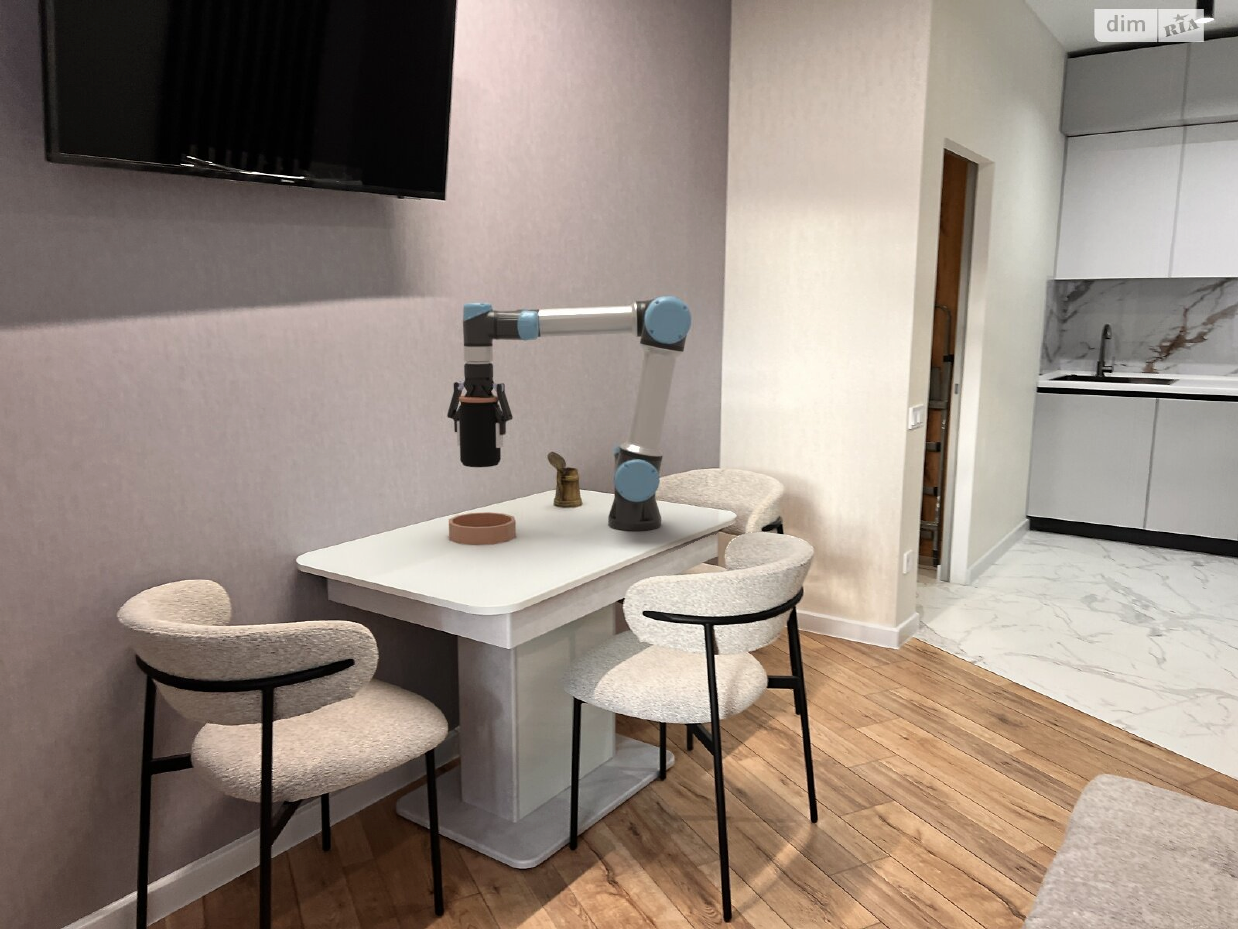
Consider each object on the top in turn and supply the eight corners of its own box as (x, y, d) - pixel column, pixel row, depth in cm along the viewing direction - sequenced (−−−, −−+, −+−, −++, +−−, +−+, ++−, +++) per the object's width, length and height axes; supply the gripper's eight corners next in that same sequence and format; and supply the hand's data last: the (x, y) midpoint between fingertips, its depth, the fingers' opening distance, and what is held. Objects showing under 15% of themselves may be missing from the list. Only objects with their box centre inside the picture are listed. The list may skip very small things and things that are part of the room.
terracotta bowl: (525, 531, 258) (525, 515, 257) (497, 547, 242) (497, 530, 241) (468, 526, 264) (467, 510, 263) (437, 541, 247) (436, 524, 246)
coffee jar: (504, 461, 254) (503, 395, 251) (495, 468, 243) (494, 399, 240) (466, 460, 255) (464, 394, 252) (455, 467, 244) (454, 398, 241)
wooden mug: (539, 508, 286) (539, 450, 283) (563, 500, 298) (563, 444, 294) (564, 511, 282) (564, 452, 279) (587, 503, 293) (587, 446, 290)
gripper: (524, 362, 244) (526, 446, 248) (446, 360, 251) (448, 441, 255) (512, 364, 237) (514, 450, 241) (432, 362, 244) (434, 445, 248)
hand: (480, 445), depth 248 cm, fingers closed on coffee jar, 11 cm apart
